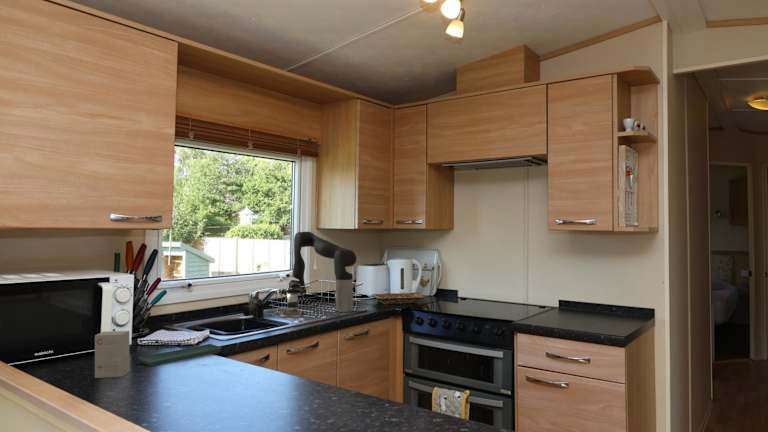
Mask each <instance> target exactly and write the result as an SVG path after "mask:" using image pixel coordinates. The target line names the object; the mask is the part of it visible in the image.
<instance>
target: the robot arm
mask: <svg viewBox="0 0 768 432" xmlns="http://www.w3.org/2000/svg"><path fill="white" fill-rule="evenodd" d="M306 247H312V248H313V249H314V252H315V253H316V254H317V255H319V256H321V257H324V258H328V259H332V260H333V265H334V269H333V270H334V275H335V312H337V311H338V312H339V313H349V312H354V292H353V291H354V288H353V287H354V286H353V285H354V284H353V283H354V282H353V281H354V277H353V273H350V272H348V271H347V269H346V268H347V267H353V266H354V265H355V264H356V262H357V256H356V253H355V252H354V251H353V250H351V249H348V248H345V247H341V246H339V245H337V244H335V243H333V242H331V241H329V240H327V239H324V238H322V237H319V236H318V235H316V234H315V233H313V232H311V231H299V232H296V233H295V234H294V237H293V269H292V277H293V278H294V279H291V281H290V280H289V281H290V283H289V282H288V283H289V288H288V287H287V288H286V289H285V290H282V289H281V290H282V291H281V290H280V295H284V296H287V294H288V293H297V297H298V296H302V295H307V288H306V284H305V270H306V264H305V260H304V259H303V256H302V248H306ZM296 279H297V280H296ZM301 286H304V287H301Z"/></svg>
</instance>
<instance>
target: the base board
mask: <svg viewBox="0 0 768 432" xmlns="http://www.w3.org/2000/svg"><path fill="white" fill-rule="evenodd" d="M284 317H285V318H301V317H302V312H301V311H300V314H299V315H293V316H286V315H282V313H281V315H280V318H281V319H282V318H284Z"/></svg>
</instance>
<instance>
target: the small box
mask: <svg viewBox="0 0 768 432" xmlns="http://www.w3.org/2000/svg"><path fill="white" fill-rule="evenodd" d="M130 345H131V343H130V330H118V331H117V330H115V331H114V330H113V331H111V330H110V331H102V332H100V333H97V334H95V335H94V378H95V379H102V378H122V377H124V376H125V375H127V374H129V372H131V371H130V362H131V360H130V359H131V358H130V357H131V356H130V355H131V354H130Z"/></svg>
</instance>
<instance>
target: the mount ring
mask: <svg viewBox="0 0 768 432" xmlns="http://www.w3.org/2000/svg"><path fill="white" fill-rule="evenodd" d="M300 312H301V310H299V309H298V310H287V309H286V310H282V311H281V314H282V315H286V316H293V315H299V314H300Z"/></svg>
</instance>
